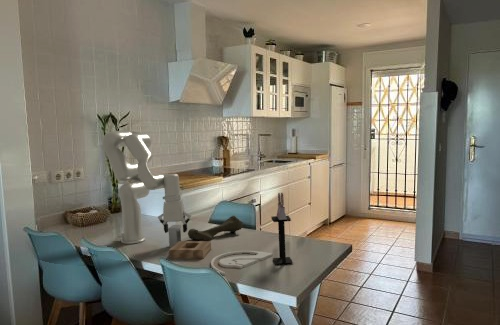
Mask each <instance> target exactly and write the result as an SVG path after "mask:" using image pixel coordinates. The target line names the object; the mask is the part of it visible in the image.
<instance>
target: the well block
mask: <svg viewBox="0 0 500 325" xmlns="http://www.w3.org/2000/svg"><path fill="white" fill-rule="evenodd" d="M211 250H212V241H211V240H208V241H207V240H199V241H198V240H181V241H179V242H178V243H177V244H175V245H174V246H173V247H172V248H169V249H168V256H169V258H168V259H175V260H176V259H181V260H182V259H184V260H189V259H190V260H192V259H194V260H195V259H196V260H197V259H199V260H201V259H202V260H204V259H205V257H206V256H207V255H208V254H209V253H210V252H211Z"/></svg>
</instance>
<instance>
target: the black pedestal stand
mask: <svg viewBox="0 0 500 325" xmlns="http://www.w3.org/2000/svg"><path fill="white" fill-rule="evenodd" d="M277 197H278V198H277V201H278V203H277V212H276V215H275V216H273V215H272V216H271V220H272V222H273V223H278V224H277V226H278V228H277V229H278V249H279V250H278V251H279V257H273V258H272V261H273V263H274V265H275V266H285V265H286V266H287V265H294V263H293V260H292V259H291V257H290V256H287V255H286V233H285V232H286V230H285V228H286V227H285V222H292V218H291V217H290V216H289V215H287V214H286V210H285V209H286V208H285V206H284V205H285V203H284V200H285V199H284V193H283V192H278V194H277Z"/></svg>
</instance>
